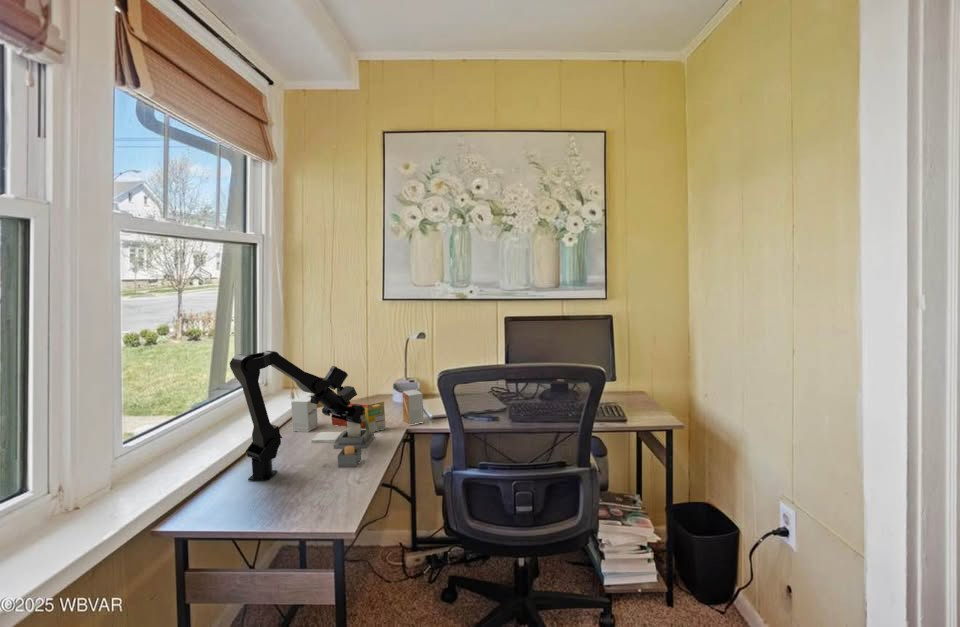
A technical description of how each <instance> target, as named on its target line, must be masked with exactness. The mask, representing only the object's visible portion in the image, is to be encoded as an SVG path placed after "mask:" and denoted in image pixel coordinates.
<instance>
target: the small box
mask: <svg viewBox="0 0 960 627" xmlns="http://www.w3.org/2000/svg"><path fill="white" fill-rule="evenodd" d="M401 393H402V411H403V412H402V415H403V416H402V417H403V422H405V423H406V422H407V423H408V424H415V423H419V422H425V421H424V402H423V401H424V400H423V399H424V396H423V393H422V392H421V391H419V390H417V389H410V390H405V391H402V392H401ZM407 423H406V424H407ZM408 424H407V425H408Z"/></svg>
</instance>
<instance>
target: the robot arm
mask: <svg viewBox="0 0 960 627" xmlns="http://www.w3.org/2000/svg"><path fill="white" fill-rule="evenodd" d="M269 366H271V367H272V368H274V369H276V370H277V371H279V372H280V373H282V374H283V375H285V376H287V377H288V378H290V379H291V380H293V381H294V383H295V384H296V385H297V387H298V388H299V389H300V390H301V391H303V392H305V393H309V394H313V395H311V396H310V397H311V400H310V403H313V404H317V405H319V403H320V404H322V405H323V407H322V408H321V412H322V414H323V415H324V416H328V417H330V416H331V418H332V417H333V418H337V419H342V420H346V421H349V422H353V423H358V424H361V423H362V420H361V418H360V417H361V415H362V414H363V412H364V410H365V408H364V407H363V406H362V405H363V404H362V405H358V404H359V403H353V404H354V405H352V406H351V407H349V406H348V405H349V404H350V403H351V400H352V399H353V398H354V397H357V395H358V393H357V391H356V389H355V387H354V386H351V385H346V386H342V385H343V384H344V382H345V381H346V379H347V378H348V376H349V375H348V373H347V372H346V371H345V370H343V369H340V368H339V367H337V366H335V365H331V367H330V368H329V371H328V372H327V374H326V375H325V377H321V376H318V375H315V374H312V373H309V372H307V371H304V370H303V369H302V368H300V367H298V366H297V365H295V364H294V363H293V362H291V361H290V360H288V359H286V358H285V357H284V356H282V355H281V354H279V352H277V351H273V350H266V351H265V350H264V351H262V352H257V353H252V354H251V353H250V354H242V353H241V354H236V355H234V356H233V357H231V360H230V361H229V368H230V371H231V372H232V374H233V376H234V377H235V378H236V380H237V381H238V382H239V384H240V385H241V388H242V391H243V393H244V398H245V401H246V404H247V408H248V411H249V415H250V419H251V422H252V424H253V427H252V428H253V429H252V432H251V438H252V439H251V440H252V441H251V443H250V445H248V447H247V448H246V450H245V454H246V457H247V458H250V459H251V469H252V471H251V472H252V475H250V477H248V479H247V481H248V480H255V481H269V480H270V479H271V478H273V477H274V475H275V474H277V473H278V470H274V469H273V459H276V458H277V454H278V451H279V450H278V449H279V448H280V446H281V445H282V444H281V443H282V439H283V436H282V435H281V431H280V427H279V425H275V424H271V421H270V419H269V415H268V412H267V408H266V404H265V400H264V397H263V393H262V390H261V387H260V383H259V379H260V375H261V370H262V369H265V368H268V367H269ZM334 390H336V392H335V391H334ZM346 414H347V415H346Z"/></svg>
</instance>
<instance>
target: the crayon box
mask: <svg viewBox="0 0 960 627" xmlns="http://www.w3.org/2000/svg"><path fill="white" fill-rule="evenodd" d="M366 405H367V406H368V408H365V418H366V427H365V430H369V431H370V434H372V433H371V432H373V433H375V431H377V432H380V431H379V430H381V431H385V430H386V417H385V416H386V414H385V413H386V412H385V401H381V402H376V403H372V404H371V403H370V404H366ZM384 429H385V430H384Z"/></svg>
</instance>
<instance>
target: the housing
mask: <svg viewBox="0 0 960 627" xmlns="http://www.w3.org/2000/svg"><path fill="white" fill-rule="evenodd" d="M373 437H375V433H370V431H369V430H366V429H361V437H352V438H348V432H347V429H346V430H344V431H342V434H341V435H340V436H339V437H338V440H337V441H336V442H334V444H333V445H332V446H333V449H334V450H335V449H336V450H337V449H338V448H340V449H344V447H346V446H350V445H352V446H354V448H361V449H367V448H368V447H369V445H370V444H371V442H372V441H373V440H374V438H373ZM371 440H372V441H371ZM369 443H370V444H369ZM367 446H368V447H367Z"/></svg>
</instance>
